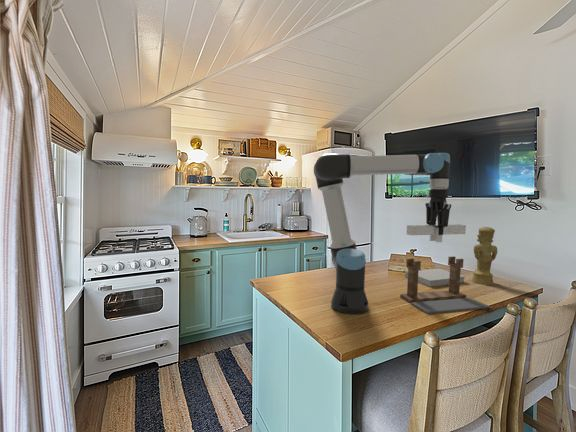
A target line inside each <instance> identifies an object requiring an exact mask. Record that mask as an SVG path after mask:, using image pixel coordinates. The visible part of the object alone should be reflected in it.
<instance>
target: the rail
mask: <svg viewBox="0 0 576 432" xmlns="http://www.w3.org/2000/svg"><path fill="white" fill-rule="evenodd" d="M436 226H438V224H436V225H428V224H418V225H417V224H416V225H415V224H414V225H413V224H411V225H408V224H407V225H406V235H408V236H430V235H436V228H437V227H436ZM466 228H467V226H466V224H448V226H447V227H444V230H443V235H446V236H447V235H466ZM443 235H442V236H443Z"/></svg>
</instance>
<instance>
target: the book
mask: <svg viewBox="0 0 576 432" xmlns="http://www.w3.org/2000/svg"><path fill="white" fill-rule="evenodd" d="M404 277H405V278H406V279H408V271H406V272H404ZM449 277H450V270H449V271H448V270H445V269H442V268H433V269H432V268H430V269H422V270H421V269H420V270H418V284H419V283H420V284H422V285H424V286H427V287H430V288H432V287H439V286H440V287H441V286H447V284H448V285H449ZM465 278H466V276H465V275H462V274H460V284H463V283H464V282H465ZM462 282H463V283H462Z"/></svg>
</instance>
